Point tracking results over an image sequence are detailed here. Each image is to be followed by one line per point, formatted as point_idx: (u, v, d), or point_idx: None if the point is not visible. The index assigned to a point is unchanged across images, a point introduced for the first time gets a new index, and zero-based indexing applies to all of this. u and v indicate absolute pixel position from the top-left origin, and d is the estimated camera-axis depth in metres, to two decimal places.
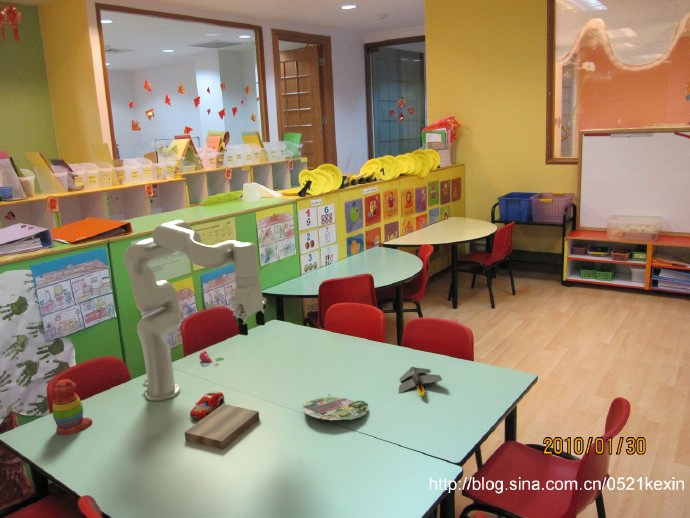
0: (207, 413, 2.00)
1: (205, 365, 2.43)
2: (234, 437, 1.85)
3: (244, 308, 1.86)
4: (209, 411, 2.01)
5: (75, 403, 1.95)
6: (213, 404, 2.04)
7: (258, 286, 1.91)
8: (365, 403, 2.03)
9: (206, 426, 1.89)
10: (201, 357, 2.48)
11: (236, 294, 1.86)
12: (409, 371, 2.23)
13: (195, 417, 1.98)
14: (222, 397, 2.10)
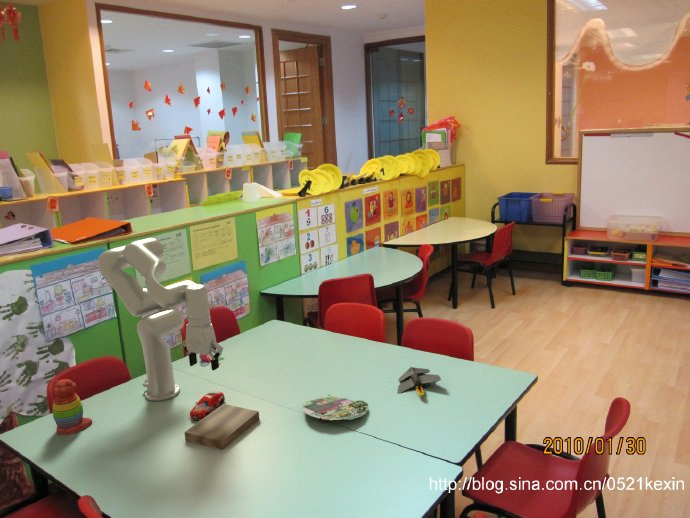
0: (207, 413, 2.00)
1: (204, 365, 2.44)
2: (234, 437, 1.85)
3: (215, 342, 1.99)
4: (209, 411, 2.01)
5: (75, 403, 1.95)
6: (213, 404, 2.04)
7: None
8: (365, 403, 2.03)
9: (206, 426, 1.89)
10: (201, 356, 2.48)
11: (208, 333, 1.95)
12: (408, 371, 2.23)
13: (195, 417, 1.98)
14: (222, 397, 2.09)
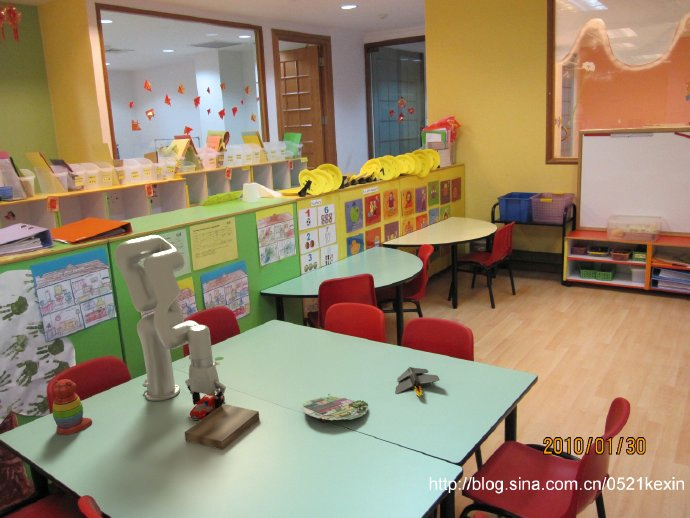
0: (207, 413, 2.00)
1: None
2: (234, 437, 1.85)
3: (218, 381, 2.02)
4: (209, 411, 2.01)
5: (75, 403, 1.95)
6: (213, 404, 2.04)
7: None
8: (365, 403, 2.03)
9: (206, 426, 1.89)
10: None
11: (211, 373, 1.99)
12: (407, 371, 2.23)
13: (194, 417, 1.98)
14: (222, 397, 2.09)
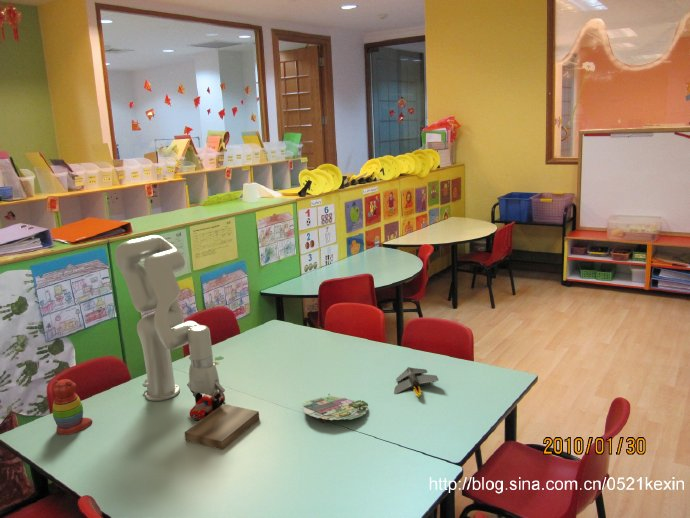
0: (206, 413, 2.00)
1: None
2: (234, 437, 1.85)
3: (218, 381, 2.02)
4: (208, 411, 2.01)
5: (75, 403, 1.95)
6: None
7: None
8: (365, 403, 2.03)
9: (206, 426, 1.89)
10: None
11: (211, 373, 1.99)
12: (405, 371, 2.22)
13: (194, 417, 1.98)
14: (223, 397, 2.09)
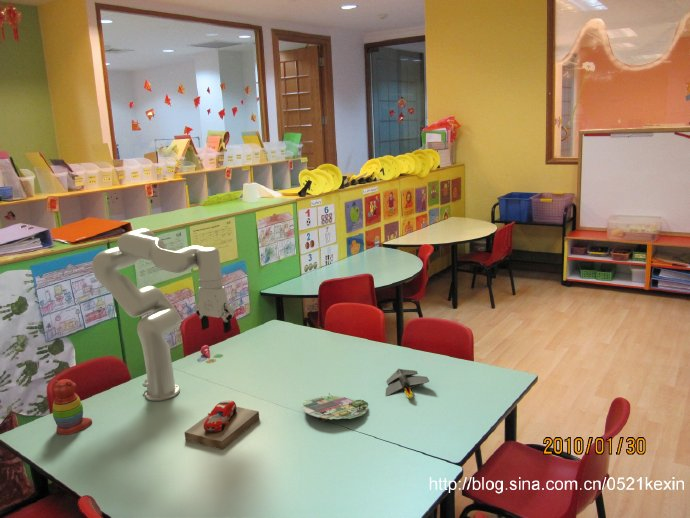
0: (222, 424, 1.85)
1: (200, 360, 2.49)
2: (234, 437, 1.85)
3: None
4: (224, 422, 1.87)
5: (75, 403, 1.95)
6: (227, 414, 1.89)
7: None
8: (365, 402, 2.04)
9: None
10: (201, 351, 2.54)
11: (220, 295, 1.96)
12: (396, 373, 2.22)
13: (210, 429, 1.83)
14: (235, 406, 1.95)
